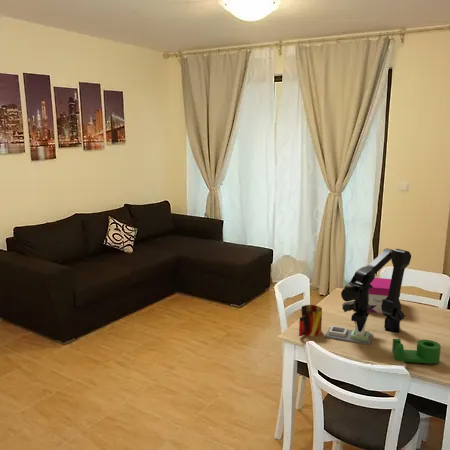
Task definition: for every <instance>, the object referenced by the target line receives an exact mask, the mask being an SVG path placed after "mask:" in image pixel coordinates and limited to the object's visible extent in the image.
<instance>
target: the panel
mask: <svg viewBox="0 0 450 450" xmlns="http://www.w3.org/2000/svg"><path fill="white" fill-rule="evenodd" d="M373 335H374V334H373V333H371V332H370V331H368V330H365V336H359V335H355V328H354V329H348V327H344V326H343V327H342V326H336V325H331V326H329V328H328V329H327V332H326V333H325V335H324V338H326V339H331V340H336V341H337V340H338V341H341V342H342V341H343V342H349V343H354V344H355V343H356V344H361V345H366V346H370V344H371V341H372V338H373Z"/></svg>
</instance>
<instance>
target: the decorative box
mask: <svg viewBox="0 0 450 450" xmlns="http://www.w3.org/2000/svg"><path fill="white" fill-rule="evenodd" d="M390 283H391V278H385V277H384V278H383V277H382V278H381V277H375V278H374V280H373V281H372V282H371V283H370V284H371V285H372V286H373V287H372V288H369V302H368V304H369V305H370V306H371V310H370V311H368V313H377V314H383V312H382V309H381V308H382V307H381V305H382V300H383V299H386V298H387V297H388V293H389V288H390ZM400 297H401V294H400V295H399V298H400Z"/></svg>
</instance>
